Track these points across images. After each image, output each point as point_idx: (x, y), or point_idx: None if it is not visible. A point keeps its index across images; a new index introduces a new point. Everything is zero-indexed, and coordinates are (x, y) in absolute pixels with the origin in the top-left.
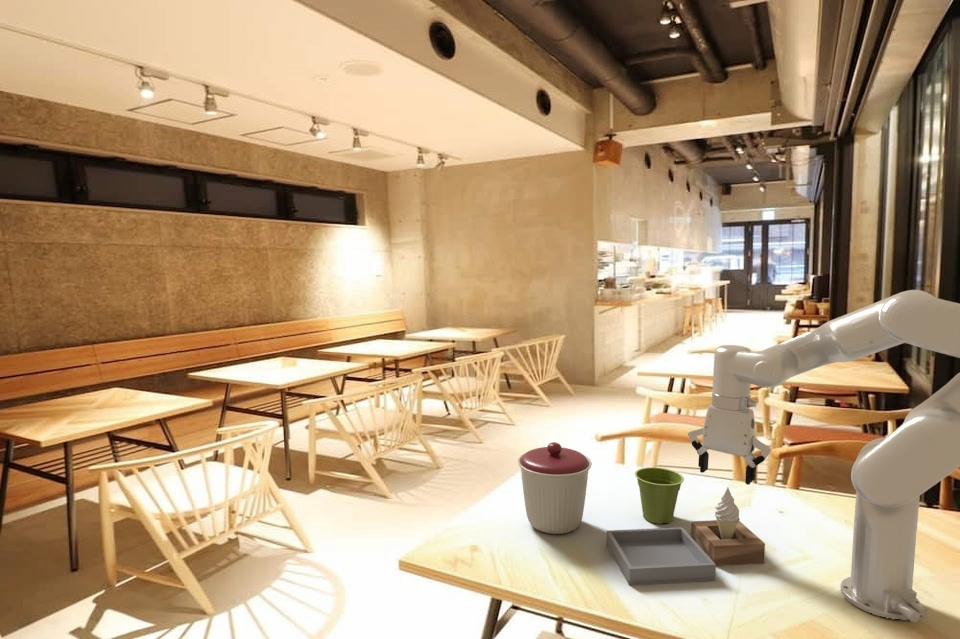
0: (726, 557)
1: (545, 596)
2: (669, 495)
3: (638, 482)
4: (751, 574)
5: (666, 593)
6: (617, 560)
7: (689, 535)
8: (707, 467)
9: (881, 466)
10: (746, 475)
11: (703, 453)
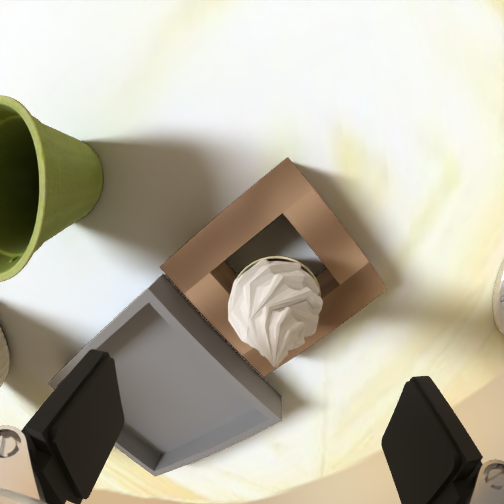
0: None
1: (106, 488)
2: (52, 228)
3: None
4: (347, 335)
5: (218, 455)
6: None
7: (183, 327)
8: (108, 369)
9: None
10: (398, 479)
11: (59, 498)
